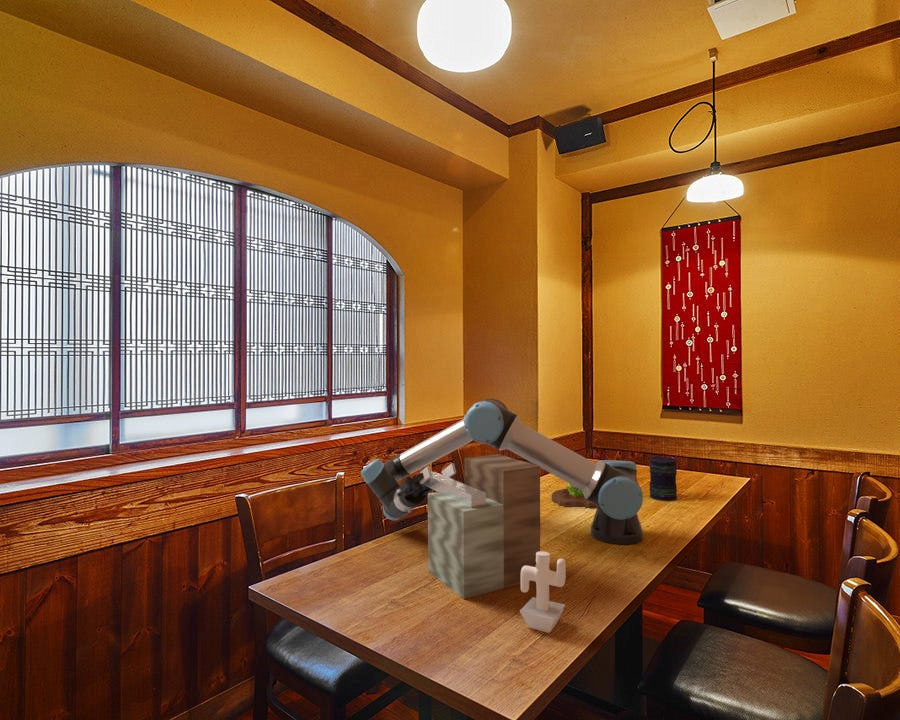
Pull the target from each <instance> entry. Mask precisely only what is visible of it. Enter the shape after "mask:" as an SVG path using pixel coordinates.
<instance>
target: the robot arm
mask: <svg viewBox="0 0 900 720" xmlns="http://www.w3.org/2000/svg"><path fill="white" fill-rule="evenodd" d="M472 441H475V443H480V444H481V445H482V444H483V445H484V444H485V445H489V446H491V447H492V448H494V449H495V450H498V451H500V452H501V451H504V450H508V451H511V452H512V453H513V454H516V455H518V456H519V457H521V458H523V459H525V460H527V462H528V461H529V463H531V464H534V465H538V466H540V469H543V470H544V471H546V472H547V473H549V474H552V475H553V476H555V477H557V478H559V479H561V480H563V481H564V482H566V483H568V484H569V485H570V484H571V485H573V486H575V487H577V488H578V489H580V490H582V492H583V494H584V497H585V499H587V500H589V501H591V502H592V503H594V504H596V505H597V508H596V509H595V513H594V516H593V519H592V522H591V525H590V535H591V536H592V537H593V538H594V539H596V540H598V541H600V542H603V543H609V544H615V545H633V544H637V543H640V542H642V541H643V539H644V537H643V535H644V532H643V527H642V525H641V524H642V523H641V521H640V519H639V515H638V512H640V510H641V509H642V506H643V501H644V493H643V488H642V487H641V486H640V484H639V481H638V479H637V478H638V477H637V476H638V475H637V473H638V469H637V464H636V463H635V462H634V461H629V460H617V459H615V460H613V459H603V460H602V459H601V460H598V461H597V462H596V463H595V462H593V461H591V460H590V459H588V458H587V457H584V456H583V455H581V454H579V453H577V452H575V451H573V450H571V449H569V448H567V447H565V446H564V445H562V444H560V443H558V442H556V441H555V440H553V439H551V438H549V437H547V436H546V435H543V434H542V433H540V432H539V431H537V430H535V429H533V428H531V427H529V426H527V425H525V424H523V423H522V422H521V420H520V416H519V415H518V414H516V413H514V412H512V411H511V410H509V409H508V407H507V406H506V405H505V403H504V402H502V401H500V400H499V399H496V398H487V399H483V400H481V401H478V402H476V403H474V404H473V405H472V406H471V407H470V408H469V409H468V410H467V412H466V413H465V414H464V416H463V419H461V420H459V421H457V422H455V423H453V424H452V425H450V426H448V427H447V428H445V429H443V430H441V431H439V432H437V433H436V434H433V435H432V436H430V437H429V438H426V439H425V440H423V441H421V442H420V443H417V444H415V445H414V446H412V447H411V448H409V449H407V450H405V451H403V452H402V453H400V454H398V455H397V456H394V457H392V458H390V459H389V460H387V461H385V462H382V461H381V459H378V458H376V459H374V460H373V461H371V462H370V463H368V464H367V465H365V467H364V468H363V469H362V470H361V471H360V475H361V477H362V478H363V480H364V482H365V483H366V484H367V486H368V487H369V488H370V489H371V491H372V492H373V493H374V494H375V496H376V497H377V498H378V500H379V501H380V502H381V504H382V512H383V516H385V518H387V519H388V520H391V521H399V520H400V519H403V518H404V517H406V516H407V515H408V514H411V513H412V511H413V510H414V509H416V508H417V507H418V506H420V505H421V504H423V503H424V502H425V500H426V498H427V496H428V493H431V492H433V491H434V490H433V489H431V488H429V487H427V486H425V485H422V484H423V483H424V482H425V481H427V480H428V479H429V478H430V477H431V476H432V473H431V472H432V469H431V466H430V464H432V463H434V462H436V461H437V460H439V459H441V458H443V457H445V456H447V455H449V454H451V453H452V452H454V451H456V450H458V449H460V448H461V447H464V446H465V445H467V444H469V443H471V442H472ZM424 467H425V468H424ZM421 469H422V470H421ZM420 470H421V471H420ZM417 471H420V472H418V473H417V474H415V475H413V476H412V477H411V476H410V475H412V474H413V473H415V472H417ZM440 474H441V475H444V476H446V477H449V478H451V479H453V480H455V479H454V475H456V474H457V470H456V465H455V463H454V462H453V463H450V464H449V465H448V466H446V467H444V469H442V470H441V473H440ZM403 479H404V480H403ZM401 480H403V481H402V482H401V483H400V484H399V483H398V482H399V481H401Z"/></svg>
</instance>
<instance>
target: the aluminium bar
mask: <svg viewBox="0 0 900 720" xmlns="http://www.w3.org/2000/svg"><path fill="white" fill-rule="evenodd" d="M431 473H432V476H431V477H430V478H429V479H428V480H427V481H425V482H424V483H423V484H422V485H425V486H427V487H429V488H431V489H433V490H432V491H435V492H439V493H441V494H443V495H445V496H447V497H449V498H452V499H454V500H456V501H458V502H460V503H462V504H464V505H466V506H468V507H470V508H475V507H481V506H486V493H485V492H482V491H480V490H478V489H475V488H473V487H470V486H468V485H466V484H465V483H462V482H461V481H459V480H456V479H454V478H453V479H454V480H453V479H451V478H449V477H446V476H444V475H441V473H438V472H436V471H431Z"/></svg>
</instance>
